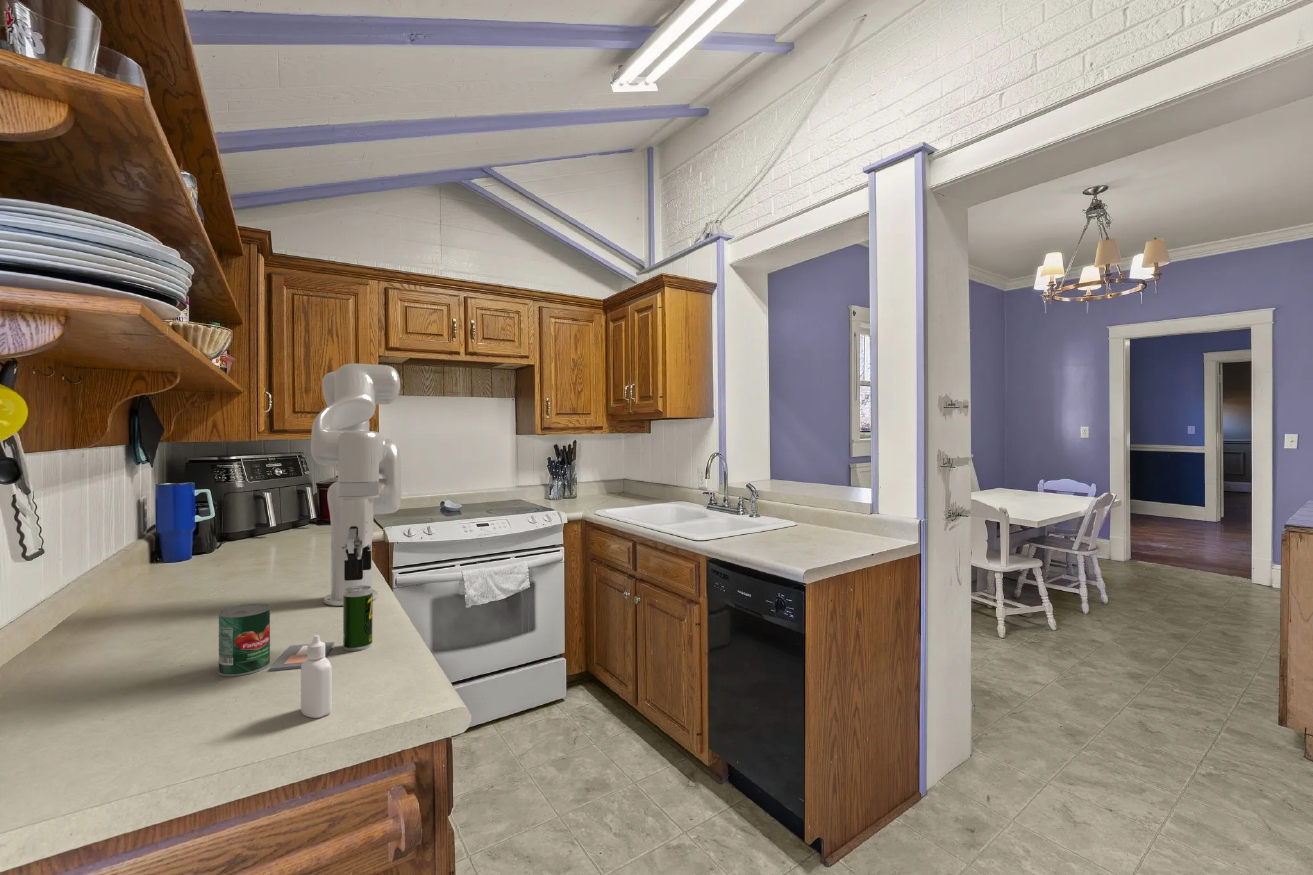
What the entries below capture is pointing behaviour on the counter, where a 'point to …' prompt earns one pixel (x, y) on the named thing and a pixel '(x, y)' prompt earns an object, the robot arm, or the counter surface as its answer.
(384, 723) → the counter surface
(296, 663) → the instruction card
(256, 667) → the canned tomato
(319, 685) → the eye dropper bottle
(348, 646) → the beer can
